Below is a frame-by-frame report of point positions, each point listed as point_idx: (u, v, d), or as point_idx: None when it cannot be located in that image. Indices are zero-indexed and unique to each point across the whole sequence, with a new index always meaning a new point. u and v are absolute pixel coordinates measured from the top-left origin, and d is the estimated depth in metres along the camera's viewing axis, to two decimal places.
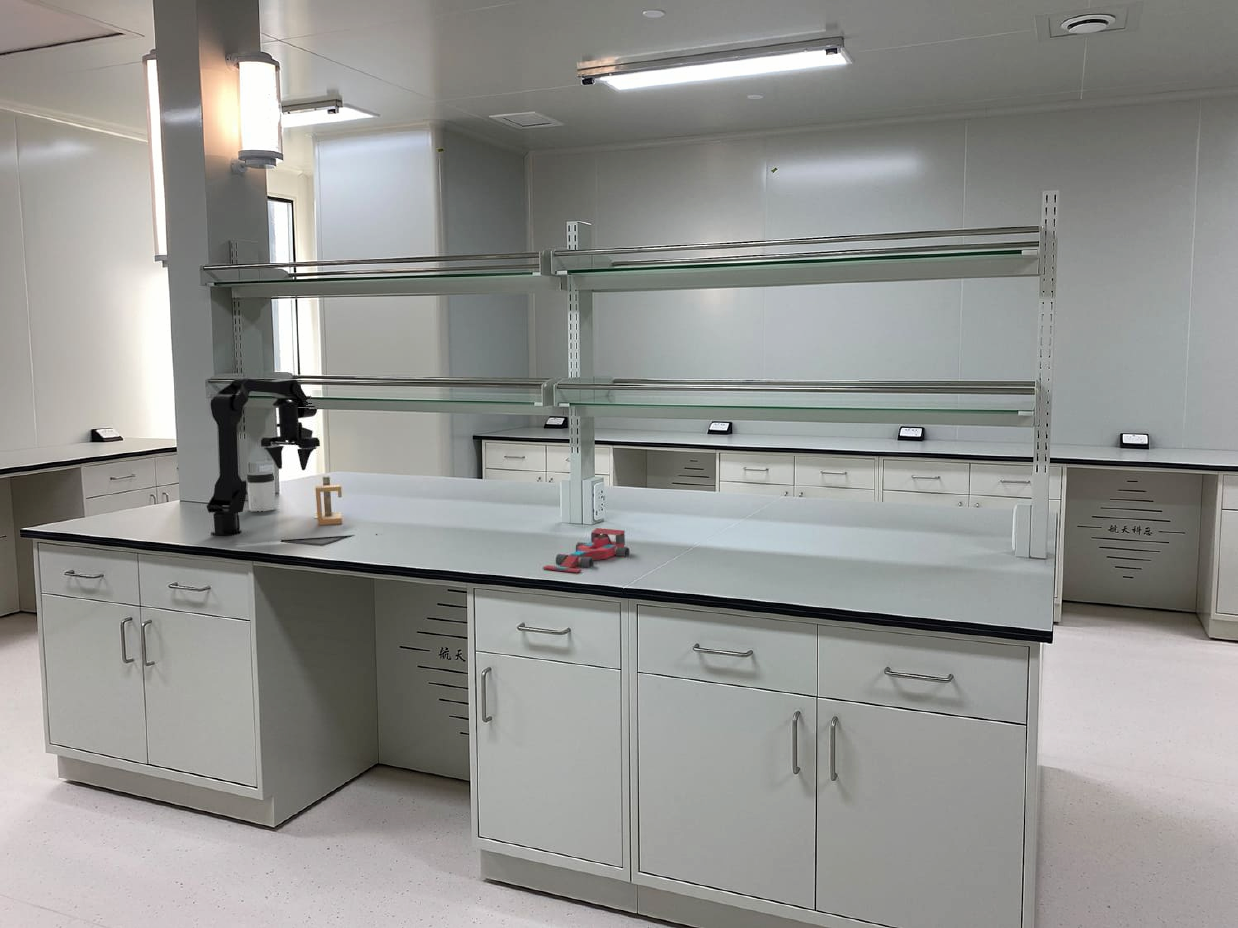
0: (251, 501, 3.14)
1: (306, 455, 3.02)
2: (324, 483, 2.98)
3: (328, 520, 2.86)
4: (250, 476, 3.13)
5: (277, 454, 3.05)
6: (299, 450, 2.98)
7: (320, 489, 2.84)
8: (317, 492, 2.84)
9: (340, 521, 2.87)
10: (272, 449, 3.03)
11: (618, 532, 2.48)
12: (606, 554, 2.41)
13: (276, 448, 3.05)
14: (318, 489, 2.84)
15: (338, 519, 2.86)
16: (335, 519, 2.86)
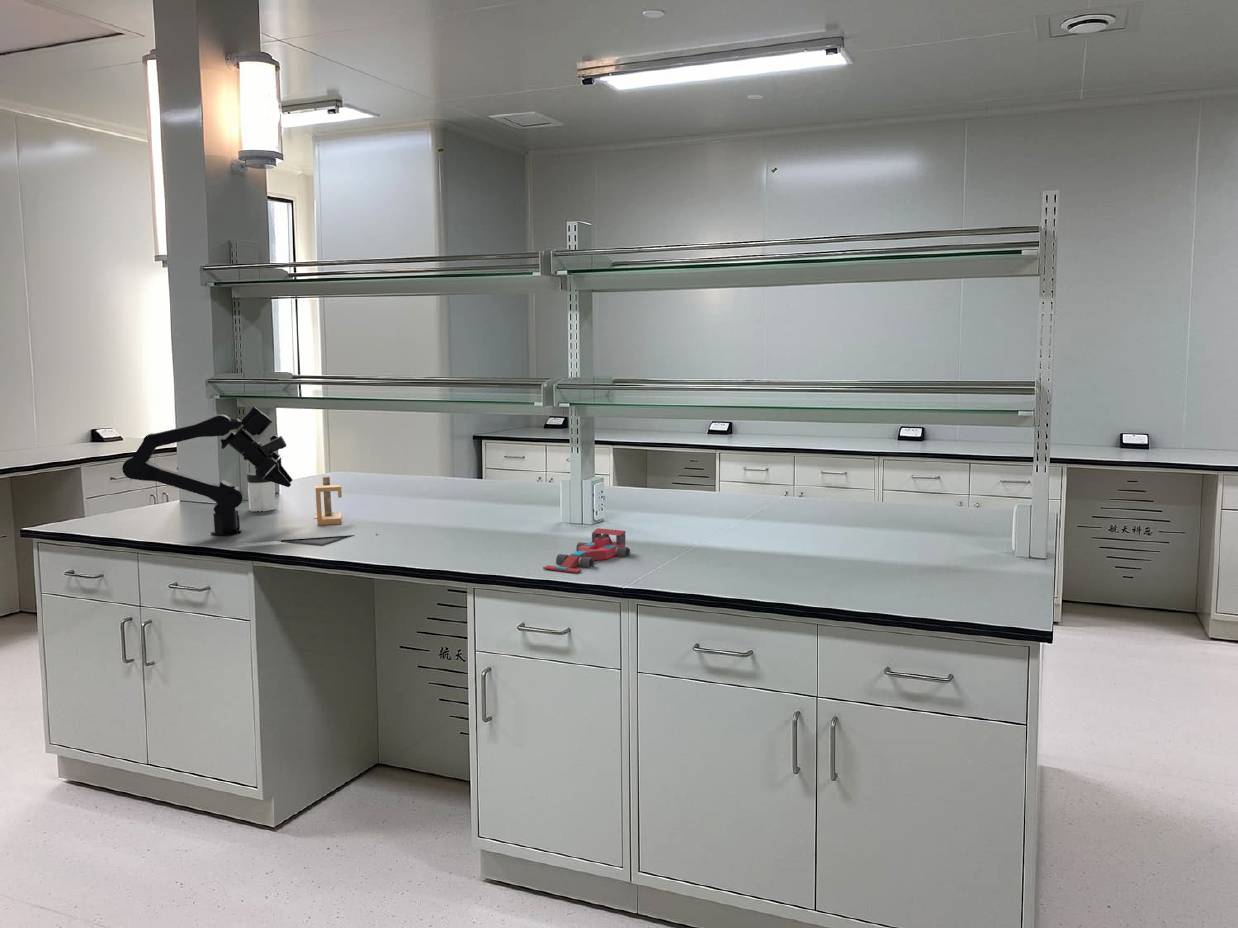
0: (251, 501, 3.14)
1: (277, 475, 2.77)
2: (324, 483, 2.98)
3: (328, 520, 2.86)
4: (250, 476, 3.13)
5: None
6: None
7: (320, 489, 2.84)
8: (317, 492, 2.84)
9: (340, 521, 2.87)
10: None
11: (619, 532, 2.48)
12: (607, 554, 2.41)
13: None
14: (318, 489, 2.84)
15: (338, 519, 2.86)
16: (335, 519, 2.86)
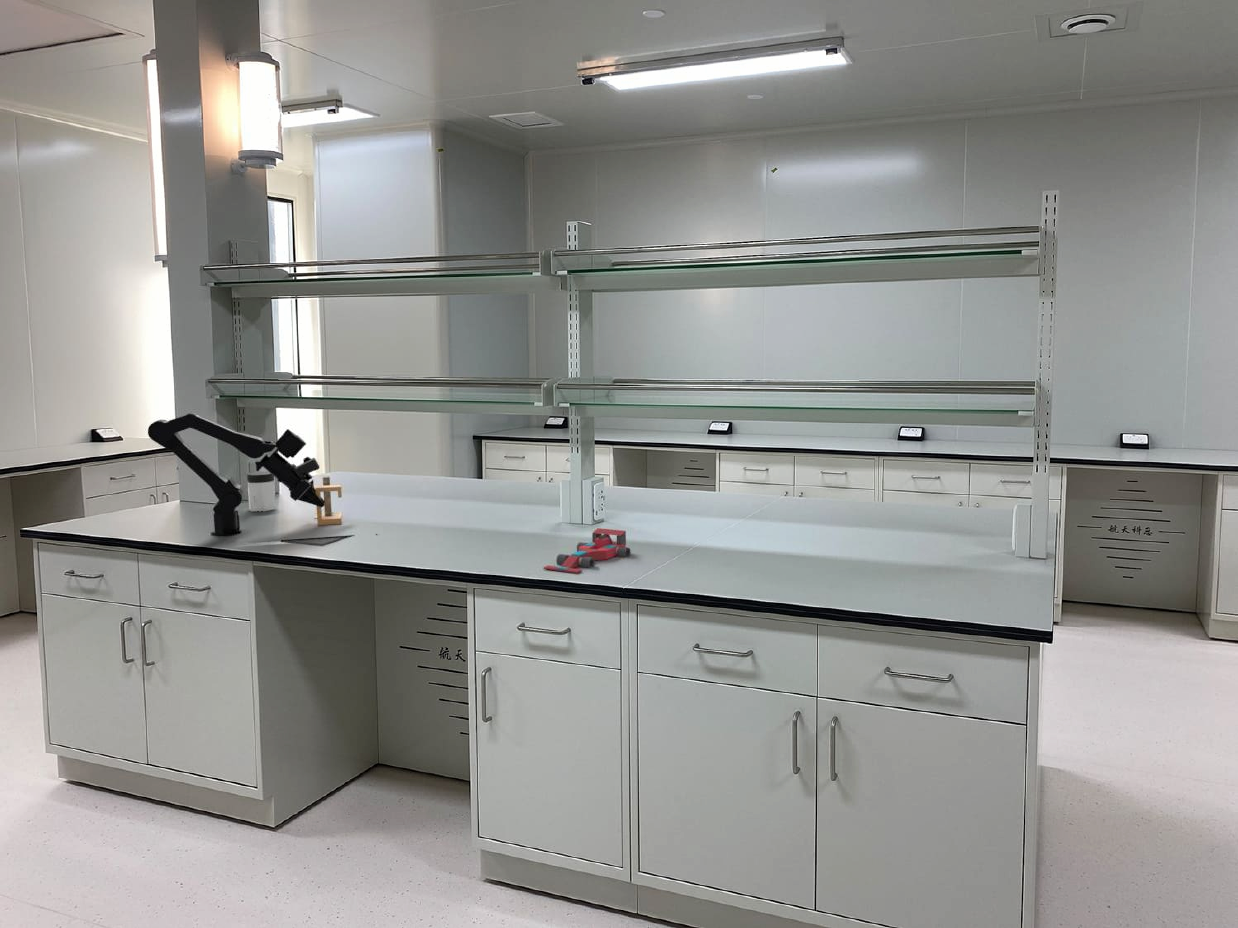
0: (251, 501, 3.14)
1: (311, 495, 2.82)
2: (324, 483, 2.98)
3: (328, 520, 2.86)
4: (250, 476, 3.13)
5: None
6: None
7: (320, 489, 2.84)
8: (317, 492, 2.84)
9: (340, 521, 2.87)
10: None
11: (619, 532, 2.48)
12: (607, 554, 2.41)
13: None
14: (318, 489, 2.84)
15: (338, 519, 2.86)
16: (335, 519, 2.86)
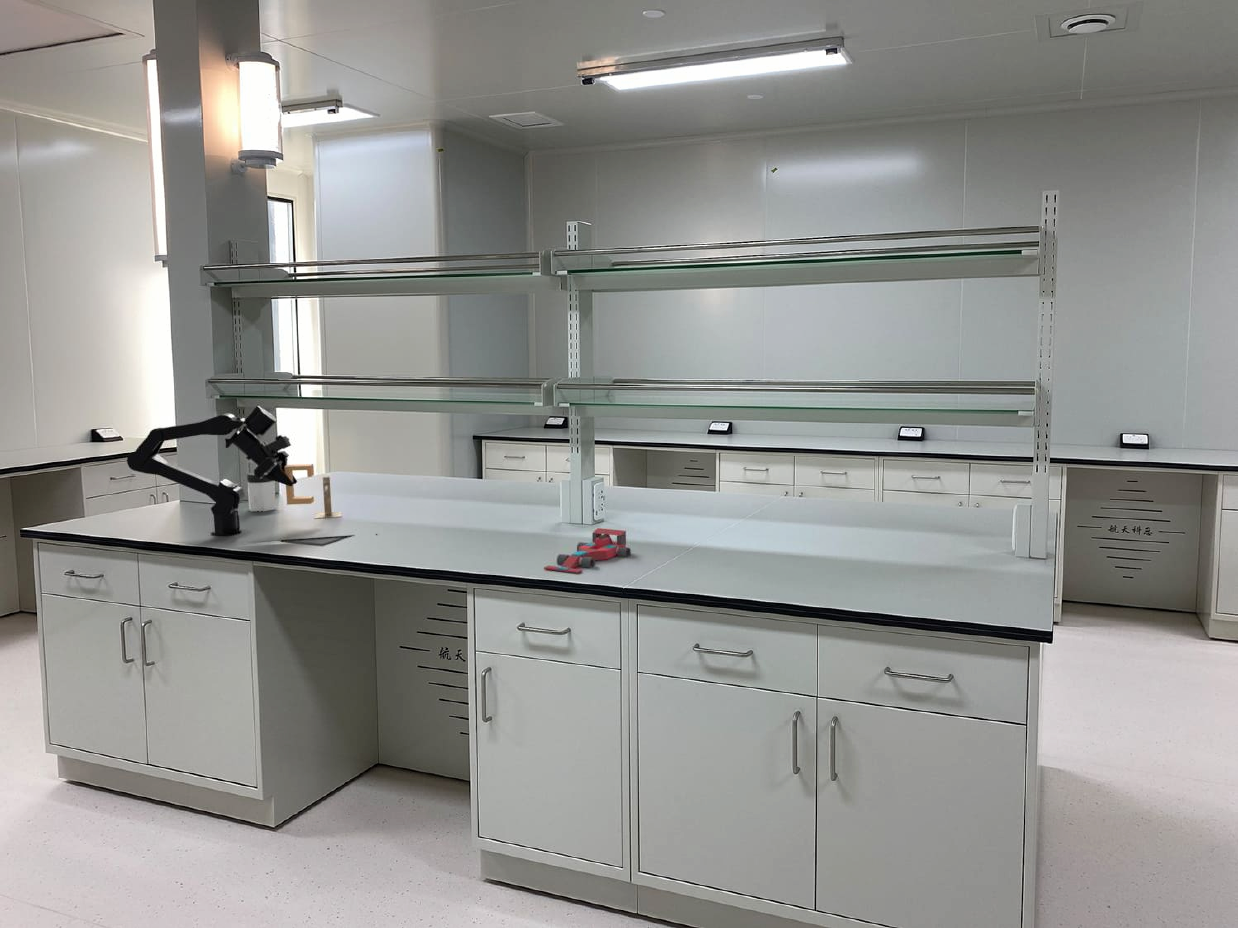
0: (251, 501, 3.14)
1: (280, 474, 2.76)
2: (324, 483, 2.98)
3: (297, 500, 2.79)
4: (250, 476, 3.13)
5: None
6: None
7: (289, 468, 2.78)
8: (286, 471, 2.78)
9: (309, 501, 2.80)
10: None
11: (619, 532, 2.48)
12: (607, 554, 2.41)
13: None
14: (287, 468, 2.78)
15: (307, 499, 2.80)
16: (304, 499, 2.79)
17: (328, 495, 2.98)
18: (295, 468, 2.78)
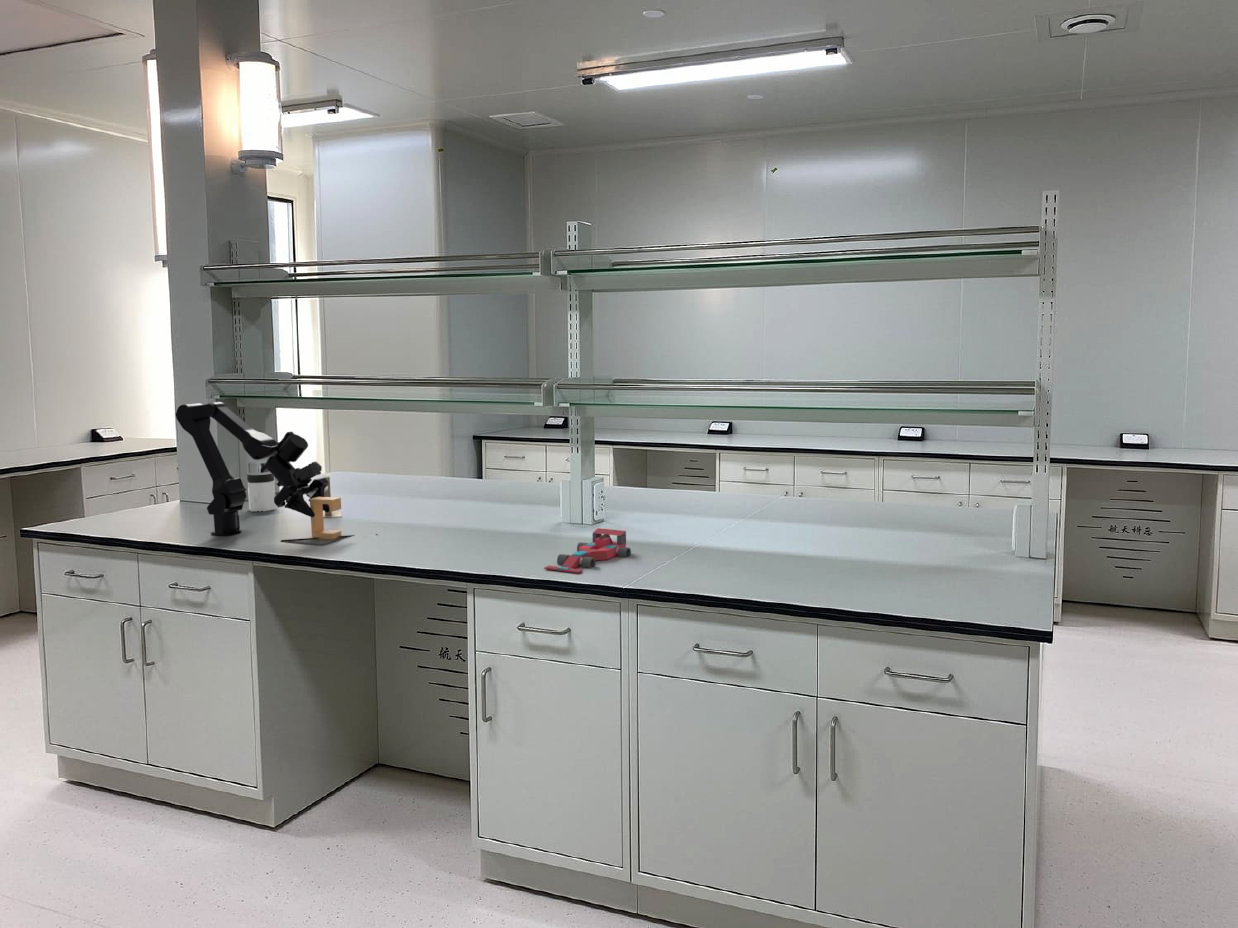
0: (251, 501, 3.14)
1: (301, 504, 2.66)
2: None
3: (321, 534, 2.68)
4: (250, 476, 3.13)
5: None
6: None
7: (314, 500, 2.67)
8: (311, 503, 2.68)
9: (331, 537, 2.67)
10: None
11: (619, 532, 2.48)
12: (608, 554, 2.41)
13: (313, 495, 2.74)
14: (312, 500, 2.68)
15: (330, 534, 2.67)
16: (327, 534, 2.68)
17: (328, 495, 2.98)
18: (319, 501, 2.67)
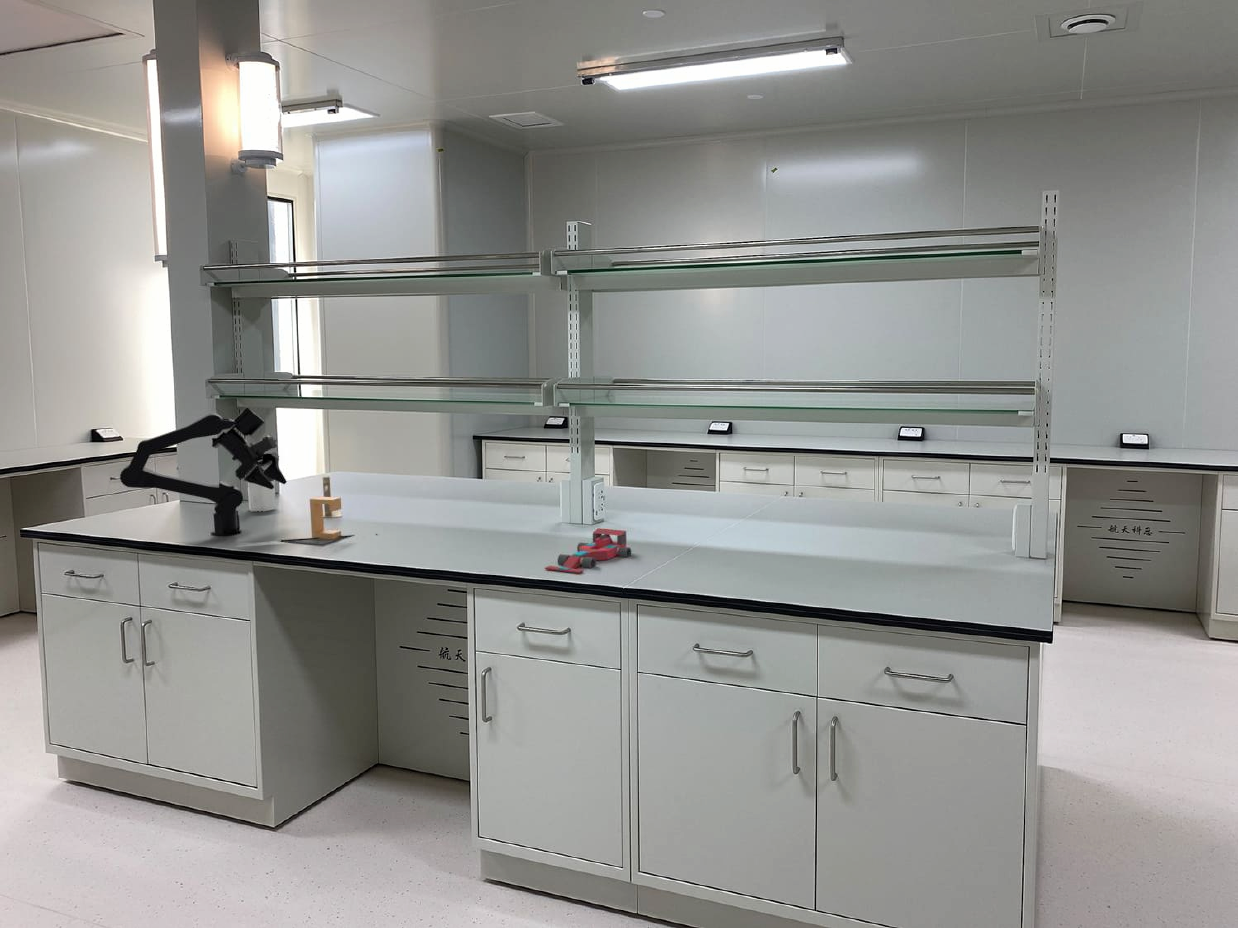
0: (251, 501, 3.14)
1: (260, 476, 2.73)
2: (324, 483, 2.98)
3: (321, 534, 2.68)
4: None
5: (272, 473, 2.83)
6: None
7: (314, 500, 2.67)
8: (311, 503, 2.68)
9: (331, 537, 2.67)
10: (264, 473, 2.84)
11: (620, 532, 2.48)
12: (608, 554, 2.40)
13: (268, 468, 2.84)
14: (312, 500, 2.68)
15: (330, 534, 2.67)
16: (327, 534, 2.68)
17: (328, 495, 2.98)
18: (319, 501, 2.67)
